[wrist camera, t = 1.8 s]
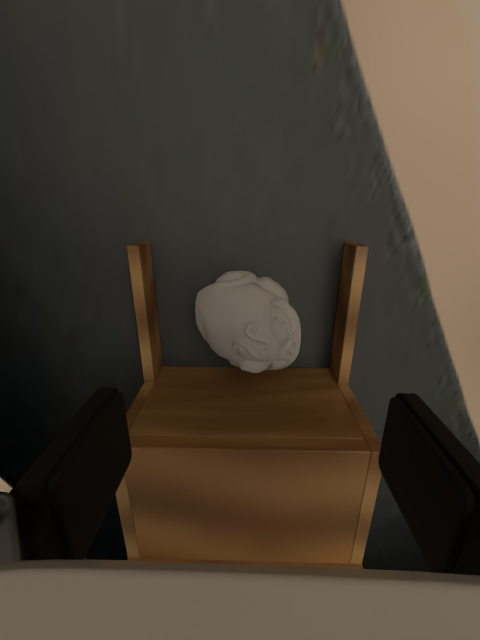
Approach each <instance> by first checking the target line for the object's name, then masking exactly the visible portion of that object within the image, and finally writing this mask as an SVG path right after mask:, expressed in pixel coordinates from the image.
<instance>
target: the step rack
mask: <svg viewBox="0 0 480 640" xmlns="http://www.w3.org/2000/svg"><path fill="white" fill-rule="evenodd" d="M368 248H369V247H368V246H366V245H363V244H360V243H357V242H345V243H344V251H343V259H342V267H341V276H340V284H339V293H338V301H337V309H336V318H335V326H334V335H333V343H332V351H331V360H330V369H329V368H283V369H278V370H264V371H262V372H259V373H251V372H248V371H245V370H242V369H241V368H240V367H192V366H163V362H162V352H161V342H160V332H159V323H158V313H157V303H156V293H155V283H154V273H153V264H152V254H151V244H150V242H149V241H140V242H137V243H133V244H130V245H128V246H127V252H128V260H129V268H130V275H131V283H132V291H133V299H134V306H135V314H136V322H137V330H138V337H139V345H140V353H141V361H142V368H143V376H144V384H143V386H142V387H141V389H140V391H139V392H138V394H137V396H136V397H135V399H134V401H133V403H132V404H131V406H130V408H129V409H128V411H127V413H126V417H127V424H128V430H129V437H130V443H131V450H132V458H131V462H130V464H129V466H128V469H127V471H126V473H125V475H124V477H123V479H122V481H121V483H120V485H119V487H118V489H117V492H116V499H117V504H118V509H119V514H120V519H121V524H122V529H123V534H124V539H125V544H126V549H127V554H128V559H127V561H156V562H188V563H218V564H245V565H272V566H298V567H323V568H346V569H363V566H362V560H363V556H364V551H365V546H366V542H367V537H368V533H369V528H370V524H371V519H372V514H373V510H374V505H375V501H376V496H377V491H378V487H379V482H380V478H381V471H380V468H379V463H378V458H379V453H380V448H381V442H380V441H379V439H378V437H377V435H376V434H375V432H374V430H373V428H372V426H371V425H370V423H369V421H368V419H367V418H366V416H365V414H364V412H363V410H362V409H361V407H360V405H359V403H358V402H357V400H356V398H355V396H354V394H353V393H352V391H351V389H350V387H349V386H348V383H349V377H350V370H351V363H352V356H353V349H354V343H355V336H356V329H357V322H358V316H359V309H360V302H361V295H362V288H363V282H364V275H365V268H366V261H367V254H368Z"/></svg>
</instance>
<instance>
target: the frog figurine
mask: <svg viewBox="0 0 480 640" xmlns="http://www.w3.org/2000/svg"><path fill="white" fill-rule="evenodd" d="M288 302H289V299H288V296H287V293H286V292H285V290H284V289H283V288H282V287H281V286H280V285H279V284H278V283H277V282H275V281H273V280H272V279H271V278H269V277H261V278H258V277H256V275H255V274H253V273H251V272H248V271H228V272H226V273H224V274H223V275H221V276H220V277H219V278H218V279H217V280H216V282H215V283H214V284H211V285H209V286H207V287H205V288H203V289H201V290H200V291H199V292H198V294H197V298H196V303H195V315H196V324H197V327H198V329H199V331H200V332H201V334H202V336H203V338H204V340H205V341H207V342H208V344H209V345H210V347H211V348H212V350H213V351H214V352H215V353H217V354H218V355H219V356H221V357H223V358H225V359H228V360H229V362H230V363H231V364H232V365H234V366H236V367H240V368H241V369H242V370H245V371H248V372H251V373H259V372H262V371H264V370H278V369H283V368H285V367H288V366H289V365H290V364H291V363H292V362H293V361H294V360H295V359H296V357H297V355H298V353H299V350H300V341H301V328H300V320H299V317H298V315H297V313H296V311H295V309H294V308H293V307H292V306H290V305H289V303H288Z"/></svg>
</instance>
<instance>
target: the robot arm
mask: <svg viewBox="0 0 480 640" xmlns="http://www.w3.org/2000/svg"><path fill="white" fill-rule="evenodd" d="M131 458H132V450H131V443H130V437H129V430H128V424H127V417H126V411H125V404H124V398H123V394H122V393H121V392H118V390H117V388H98V389H97V390H96V391H95V393H94V394H93V395H92V396H91V397H90V398H89V399H88V401H87V402H86V403H85V404H84V405H83V406H82V408H81V409H80V410H79V411H78V412H77V413H76V415H75V416H74V417H73V418H72V419H71V420H70V422H69V423H68V424H67V425H66V426H65V427H64V429H63V430H62V431H61V432H60V433H59V434H58V436H57V437H56V438H55V439H54V440H53V441H52V443H51V444H50V445H49V446H48V447H47V448H46V450H45V451H44V452H43V453H42V454H41V455H40V456H39V458H38V459H37V460H36V461H35V462H34V463H33V465H32V466H31V467H30V468H29V469H28V470H27V472H26V473H25V474H24V475H23V476H22V477H21V479H20V480H19V481H18V482H17V483H16V485H15V487H14V488H13V489H12V490H11V491H10V492H9V493H7V492H0V640H480V464H479V462H478V461H477V460H476V459H475V458H474V457H473V456H472V455H471V454H470V452H469V451H468V450H467V449H466V448H465V447H464V446H463V445H462V444H461V443H460V441H459V440H458V439H457V438H456V437H455V436H454V435H453V434H452V433H451V431H450V430H449V429H448V428H447V427H446V426H445V425H444V424H443V423H442V421H441V420H440V419H439V418H438V417H437V416H436V415H435V414H434V413H433V412H432V410H431V409H430V408H429V407H428V406H427V405H426V404H425V403H424V402H423V400H422V399H421V398H420V397H419V396H418V395H417V394H405V393H398V394H396V396H395V398H391V399H390V403H389V408H388V413H387V418H386V423H385V428H384V433H383V438H382V443H381V448H380V453H379V458H378V463H379V468H380V471H381V473H382V475H383V477H384V479H385V481H386V483H387V485H388V487H389V489H390V491H391V493H392V495H393V497H394V499H395V501H396V503H397V505H398V507H399V509H400V511H401V513H402V515H403V517H404V519H405V521H406V523H407V525H408V527H409V529H410V531H411V533H412V535H413V537H414V539H415V541H416V543H417V545H418V547H419V549H420V551H421V553H422V555H423V557H424V559H425V561H426V563H427V565H428V567H429V569H430V571H431V573H430V572H414V571H391V570H369V569H346V568H323V567H298V566H272V565H245V564H218V563H188V562H156V561H124V560H84V558H85V556H86V554H87V552H88V550H89V548H90V546H91V544H92V542H93V540H94V538H95V535H96V533H97V531H98V529H99V527H100V525H101V523H102V521H103V519H104V517H105V515H106V512H107V510H108V508H109V506H110V504H111V502H112V500H113V498H114V496H115V494H116V492H117V489H118V487H119V485H120V483H121V481H122V479H123V477H124V475H125V473H126V471H127V469H128V466H129V464H130V462H131Z"/></svg>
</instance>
